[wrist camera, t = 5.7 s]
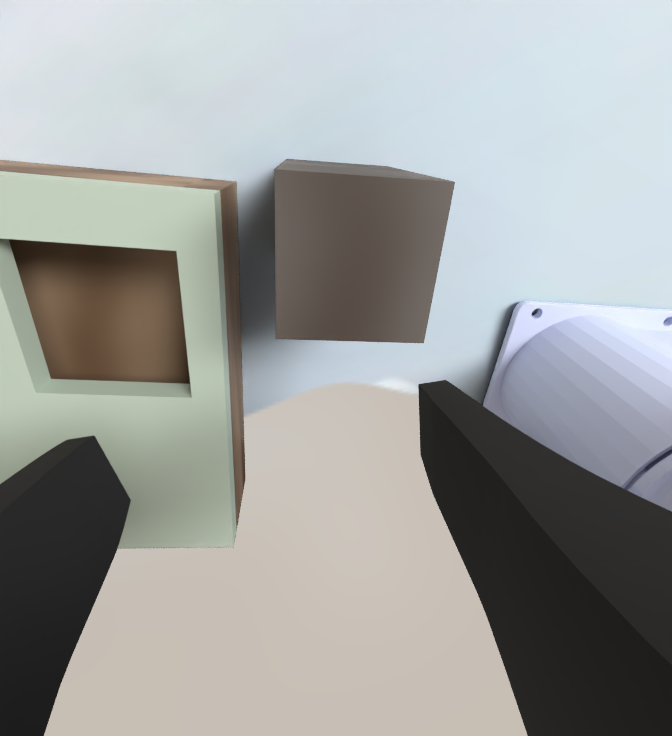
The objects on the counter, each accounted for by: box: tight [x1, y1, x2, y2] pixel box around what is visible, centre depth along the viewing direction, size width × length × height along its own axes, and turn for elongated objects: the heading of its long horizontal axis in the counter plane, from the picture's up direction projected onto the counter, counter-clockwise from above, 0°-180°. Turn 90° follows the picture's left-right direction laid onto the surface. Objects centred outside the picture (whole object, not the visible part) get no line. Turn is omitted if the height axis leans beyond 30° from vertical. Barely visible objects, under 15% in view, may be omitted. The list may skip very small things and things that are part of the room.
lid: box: [0, 171, 237, 549], centre depth 14 cm, size 12×16×4 cm
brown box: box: [0, 160, 245, 528], centre depth 17 cm, size 12×16×4 cm
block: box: [275, 159, 455, 343], centre depth 13 cm, size 4×4×8 cm
